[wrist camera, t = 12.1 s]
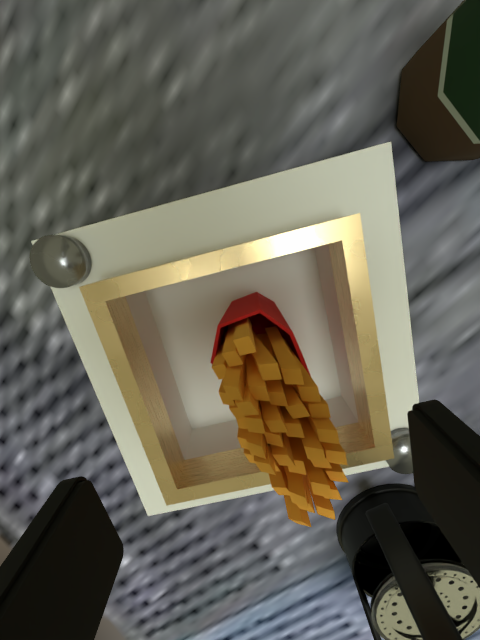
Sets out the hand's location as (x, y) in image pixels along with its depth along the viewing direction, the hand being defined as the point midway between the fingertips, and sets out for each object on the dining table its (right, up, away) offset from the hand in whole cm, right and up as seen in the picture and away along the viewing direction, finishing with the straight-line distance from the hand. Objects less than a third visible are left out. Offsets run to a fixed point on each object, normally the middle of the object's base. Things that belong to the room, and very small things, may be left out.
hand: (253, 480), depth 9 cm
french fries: (+1, +3, +13) cm, 14 cm away
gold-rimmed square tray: (0, +3, +14) cm, 14 cm away
